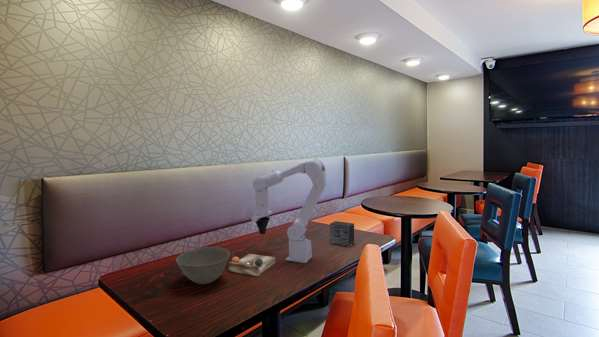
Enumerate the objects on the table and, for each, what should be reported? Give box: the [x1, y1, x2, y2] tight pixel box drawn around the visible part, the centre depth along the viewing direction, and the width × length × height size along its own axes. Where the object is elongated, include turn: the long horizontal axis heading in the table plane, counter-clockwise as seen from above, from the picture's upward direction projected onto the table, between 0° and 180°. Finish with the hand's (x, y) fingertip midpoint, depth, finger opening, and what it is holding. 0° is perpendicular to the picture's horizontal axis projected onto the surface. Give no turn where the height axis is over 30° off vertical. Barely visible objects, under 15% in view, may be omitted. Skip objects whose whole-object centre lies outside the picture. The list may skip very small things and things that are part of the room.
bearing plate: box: [228, 253, 277, 277], centre depth 129 cm, size 13×15×4 cm
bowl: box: [175, 246, 231, 285], centre depth 116 cm, size 19×19×10 cm
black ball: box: [255, 258, 263, 266], centre depth 125 cm, size 3×3×3 cm
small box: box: [329, 220, 355, 247], centre depth 156 cm, size 11×6×10 cm, turn 58°
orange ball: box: [231, 256, 240, 263], centre depth 127 cm, size 3×3×3 cm
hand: (262, 233), depth 141 cm, fingers closed
